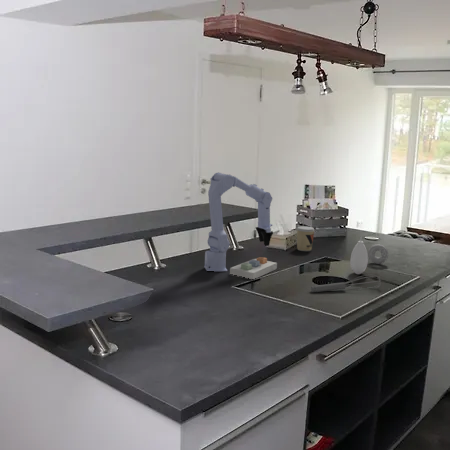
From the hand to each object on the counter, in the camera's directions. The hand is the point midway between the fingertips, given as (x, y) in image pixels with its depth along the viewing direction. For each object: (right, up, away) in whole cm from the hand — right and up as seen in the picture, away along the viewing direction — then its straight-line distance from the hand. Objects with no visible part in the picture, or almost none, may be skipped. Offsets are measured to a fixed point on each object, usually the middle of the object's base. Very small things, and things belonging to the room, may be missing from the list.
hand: (264, 243), depth 263 cm
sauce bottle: (+42, -14, -11) cm, 46 cm away
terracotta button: (-2, -9, -9) cm, 13 cm away
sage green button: (-10, -11, -21) cm, 26 cm away
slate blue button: (-6, -10, -15) cm, 19 cm away
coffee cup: (+24, -5, +32) cm, 40 cm away
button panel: (-6, -12, -14) cm, 20 cm away
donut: (+57, -11, +8) cm, 58 cm away
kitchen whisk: (+31, -19, -36) cm, 52 cm away
